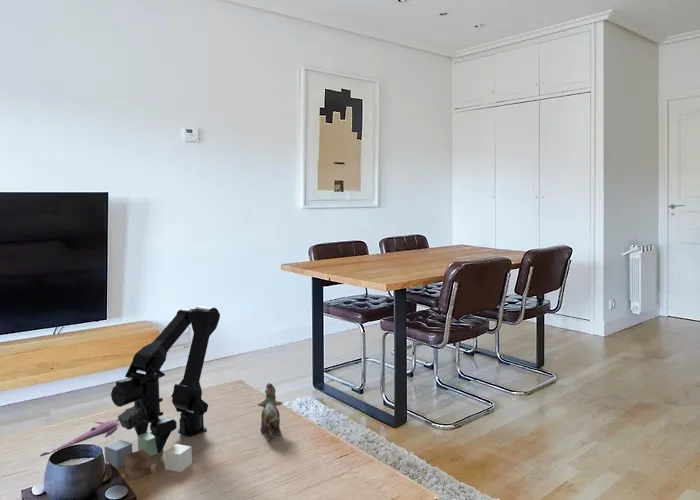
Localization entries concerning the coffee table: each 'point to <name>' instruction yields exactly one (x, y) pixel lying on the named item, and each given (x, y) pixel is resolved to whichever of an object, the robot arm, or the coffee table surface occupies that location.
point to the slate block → (117, 452)
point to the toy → (92, 433)
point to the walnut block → (137, 464)
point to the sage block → (147, 443)
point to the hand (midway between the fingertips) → (150, 447)
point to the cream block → (178, 457)
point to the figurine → (270, 413)
